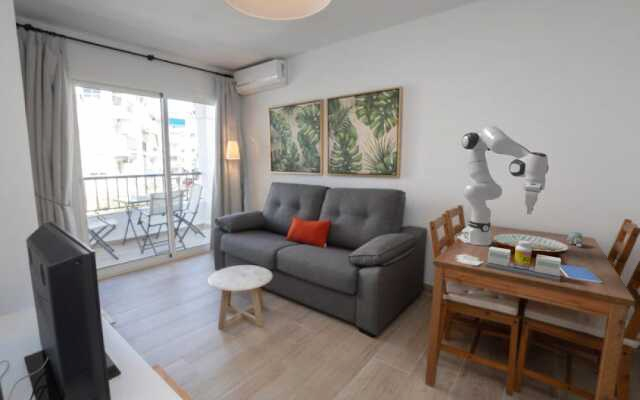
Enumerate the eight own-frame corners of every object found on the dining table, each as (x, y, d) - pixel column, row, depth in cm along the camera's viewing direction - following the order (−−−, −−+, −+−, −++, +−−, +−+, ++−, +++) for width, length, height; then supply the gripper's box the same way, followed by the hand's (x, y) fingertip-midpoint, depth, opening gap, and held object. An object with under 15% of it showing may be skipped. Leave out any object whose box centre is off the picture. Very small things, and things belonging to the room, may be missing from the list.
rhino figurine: (570, 250, 191) (574, 240, 187) (564, 239, 201) (568, 228, 197) (585, 252, 189) (588, 241, 185) (578, 240, 198) (581, 229, 194)
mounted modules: (487, 262, 156) (488, 249, 155) (489, 259, 161) (490, 246, 160) (558, 276, 138) (560, 261, 137) (558, 272, 143) (560, 258, 142)
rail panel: (485, 266, 155) (485, 264, 155) (488, 261, 163) (489, 258, 163) (559, 281, 137) (560, 278, 137) (559, 275, 145) (560, 272, 144)
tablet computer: (556, 266, 158) (556, 263, 158) (587, 270, 153) (587, 267, 153) (567, 279, 141) (567, 276, 141) (602, 284, 136) (603, 281, 136)
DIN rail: (486, 262, 157) (486, 261, 157) (488, 260, 160) (488, 259, 160) (560, 276, 139) (560, 275, 139) (560, 274, 142) (560, 273, 142)
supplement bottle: (522, 270, 146) (524, 244, 144) (510, 265, 152) (512, 240, 150) (533, 268, 148) (535, 243, 146) (520, 264, 154) (523, 239, 152)
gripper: (528, 183, 161) (524, 208, 163) (523, 186, 145) (520, 214, 148) (542, 184, 157) (538, 210, 159) (540, 188, 141) (535, 217, 144)
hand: (529, 212), depth 153 cm, fingers open, 8 cm apart
